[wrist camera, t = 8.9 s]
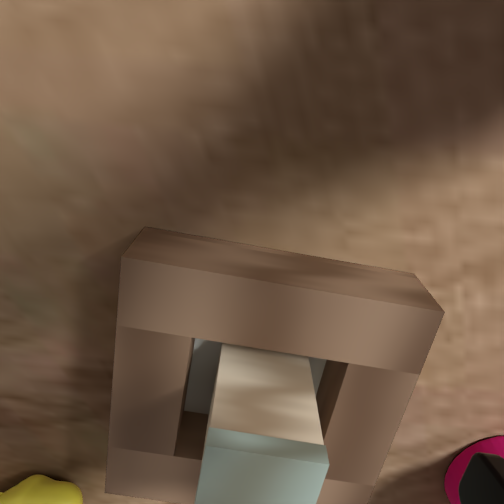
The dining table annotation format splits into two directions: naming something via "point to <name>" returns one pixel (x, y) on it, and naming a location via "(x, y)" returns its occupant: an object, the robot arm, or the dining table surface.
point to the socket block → (263, 337)
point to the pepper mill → (457, 467)
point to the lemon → (42, 492)
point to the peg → (262, 431)
